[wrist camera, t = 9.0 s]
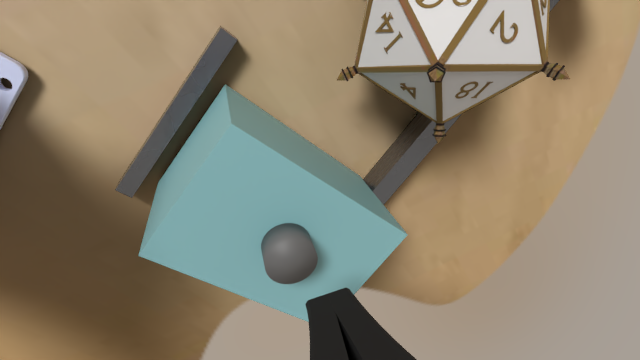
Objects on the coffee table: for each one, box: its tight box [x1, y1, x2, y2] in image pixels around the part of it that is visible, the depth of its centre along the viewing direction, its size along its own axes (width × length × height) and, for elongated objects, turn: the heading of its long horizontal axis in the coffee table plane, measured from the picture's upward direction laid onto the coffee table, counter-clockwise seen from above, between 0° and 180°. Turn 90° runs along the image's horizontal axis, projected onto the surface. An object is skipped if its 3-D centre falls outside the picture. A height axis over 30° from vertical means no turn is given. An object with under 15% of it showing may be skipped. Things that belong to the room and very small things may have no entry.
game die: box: [337, 0, 570, 144], centre depth 15 cm, size 9×8×10 cm
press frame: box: [115, 0, 559, 205], centre depth 17 cm, size 23×12×5 cm, turn 141°
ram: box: [138, 84, 407, 322], centre depth 17 cm, size 6×9×7 cm, turn 51°
